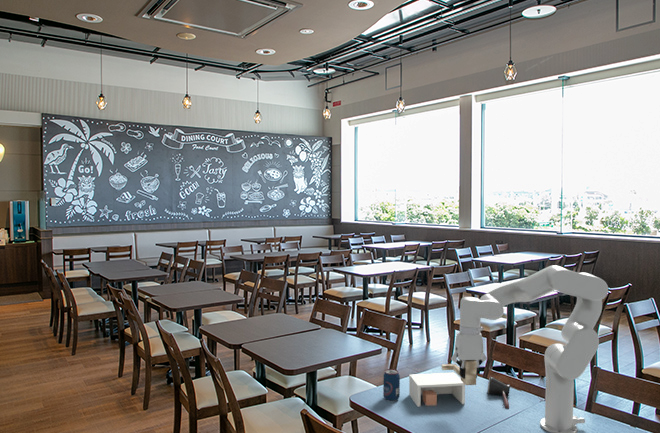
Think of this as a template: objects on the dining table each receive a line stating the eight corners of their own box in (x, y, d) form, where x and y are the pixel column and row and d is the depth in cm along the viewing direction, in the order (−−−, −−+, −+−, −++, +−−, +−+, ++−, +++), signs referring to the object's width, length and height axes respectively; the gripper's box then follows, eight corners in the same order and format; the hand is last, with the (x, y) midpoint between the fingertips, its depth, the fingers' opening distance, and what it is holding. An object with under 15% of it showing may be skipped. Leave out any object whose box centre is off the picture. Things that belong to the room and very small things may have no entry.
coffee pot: (487, 388, 217) (506, 393, 215) (486, 410, 201) (508, 415, 198) (490, 373, 216) (510, 378, 213) (490, 394, 199) (511, 399, 196)
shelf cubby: (453, 392, 213) (454, 372, 213) (464, 404, 202) (465, 383, 201) (409, 394, 211) (409, 374, 210) (417, 406, 199) (417, 385, 198)
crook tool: (458, 368, 199) (458, 346, 199) (476, 384, 182) (476, 361, 182) (441, 368, 198) (442, 347, 198) (457, 385, 181) (458, 362, 181)
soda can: (379, 398, 207) (380, 371, 206) (390, 394, 212) (390, 367, 211) (392, 403, 202) (392, 375, 201) (402, 399, 206) (403, 371, 206)
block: (433, 400, 205) (433, 390, 205) (436, 405, 201) (436, 394, 201) (422, 401, 205) (423, 390, 204) (426, 405, 200) (426, 395, 200)
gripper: (486, 326, 188) (484, 372, 189) (445, 327, 186) (444, 374, 187) (495, 332, 181) (493, 380, 182) (452, 333, 178) (451, 381, 179)
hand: (468, 376), depth 184 cm, fingers closed on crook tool, 4 cm apart
